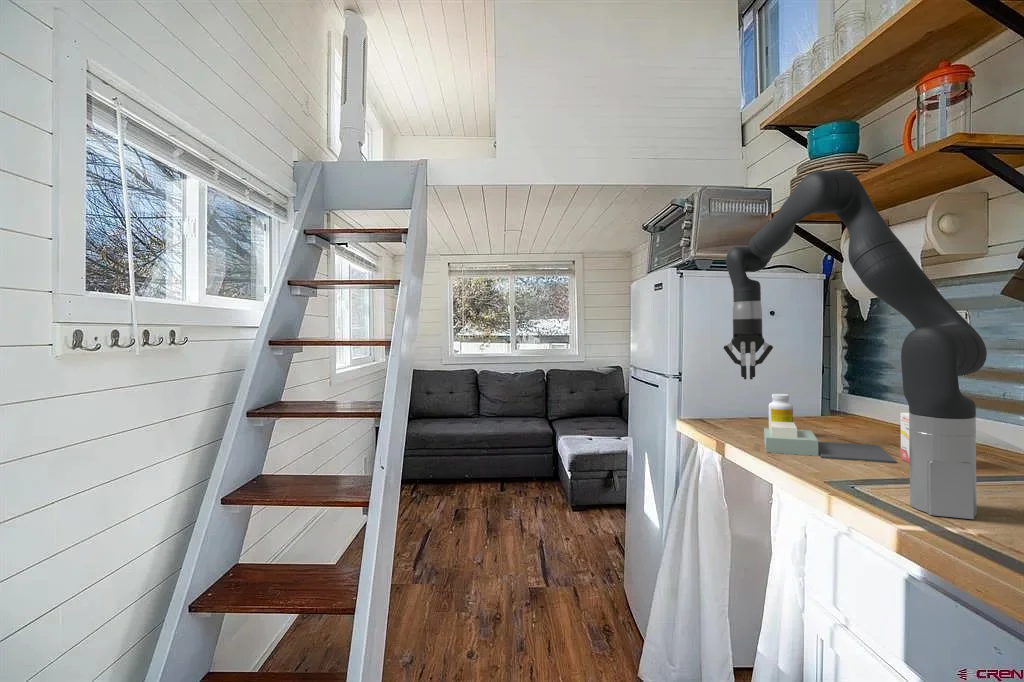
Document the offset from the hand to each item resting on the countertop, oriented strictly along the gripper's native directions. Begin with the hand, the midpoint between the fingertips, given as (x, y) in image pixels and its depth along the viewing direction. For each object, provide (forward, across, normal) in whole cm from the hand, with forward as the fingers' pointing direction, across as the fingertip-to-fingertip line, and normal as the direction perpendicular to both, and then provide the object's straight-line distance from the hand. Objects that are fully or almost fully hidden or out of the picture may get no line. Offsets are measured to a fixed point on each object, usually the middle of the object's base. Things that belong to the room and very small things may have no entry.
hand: (748, 379), depth 144 cm
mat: (+19, +24, 0) cm, 31 cm away
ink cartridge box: (+19, +37, -8) cm, 42 cm away
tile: (+14, +8, 0) cm, 16 cm away
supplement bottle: (+19, +9, +16) cm, 27 cm away
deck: (+19, +10, 0) cm, 21 cm away
